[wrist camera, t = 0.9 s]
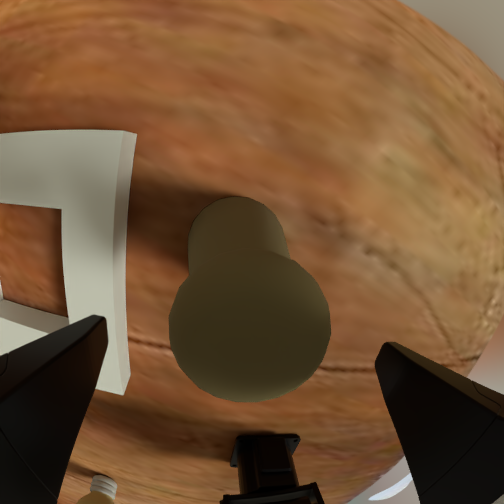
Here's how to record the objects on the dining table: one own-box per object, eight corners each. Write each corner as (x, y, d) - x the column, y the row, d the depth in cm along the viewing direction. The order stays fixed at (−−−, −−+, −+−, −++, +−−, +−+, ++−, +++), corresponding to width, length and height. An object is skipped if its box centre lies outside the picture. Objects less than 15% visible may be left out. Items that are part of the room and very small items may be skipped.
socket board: (130, 374, 20) (123, 395, 18) (-9, 331, 18) (-22, 344, 16) (137, 134, 15) (123, 130, 13) (-27, 139, 13) (-46, 140, 10)
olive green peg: (265, 181, 17) (334, 220, 6) (296, 269, 19) (369, 387, 8) (171, 219, 17) (103, 309, 7) (210, 302, 19) (205, 441, 8)
